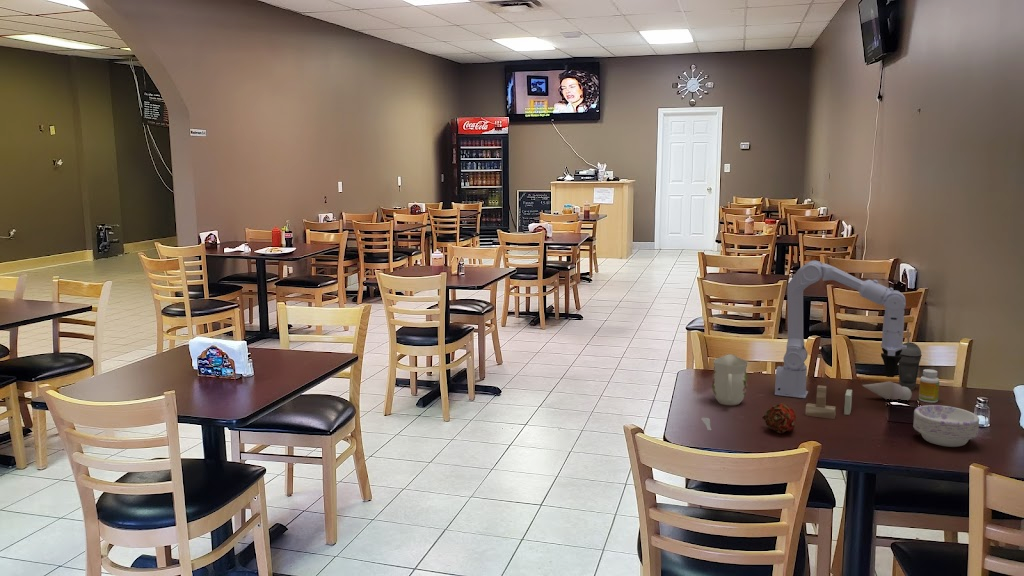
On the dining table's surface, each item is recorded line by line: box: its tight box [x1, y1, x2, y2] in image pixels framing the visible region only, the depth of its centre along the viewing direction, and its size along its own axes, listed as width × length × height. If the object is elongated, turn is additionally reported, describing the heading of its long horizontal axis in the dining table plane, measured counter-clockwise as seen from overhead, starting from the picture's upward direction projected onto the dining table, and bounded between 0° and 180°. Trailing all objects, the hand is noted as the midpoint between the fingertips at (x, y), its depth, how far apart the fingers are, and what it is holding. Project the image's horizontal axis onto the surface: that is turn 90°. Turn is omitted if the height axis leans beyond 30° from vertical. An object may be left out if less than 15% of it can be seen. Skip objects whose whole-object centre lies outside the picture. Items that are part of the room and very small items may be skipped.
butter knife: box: [700, 417, 713, 431], centre depth 216 cm, size 1×24×3 cm
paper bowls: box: [912, 404, 980, 448], centre depth 206 cm, size 15×15×8 cm
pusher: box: [805, 384, 837, 420], centre depth 228 cm, size 3×8×9 cm, turn 63°
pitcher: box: [711, 353, 749, 406], centre depth 241 cm, size 11×18×14 cm, turn 164°
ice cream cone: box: [861, 381, 913, 401], centre depth 243 cm, size 6×6×15 cm
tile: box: [843, 389, 853, 416], centre depth 232 cm, size 2×7×6 cm, turn 153°
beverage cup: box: [898, 328, 922, 391], centre depth 255 cm, size 7×7×20 cm
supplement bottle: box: [918, 368, 940, 404], centre depth 242 cm, size 5×5×10 cm
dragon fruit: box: [761, 402, 797, 434], centre depth 215 cm, size 8×8×12 cm
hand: (890, 373), depth 237 cm, fingers open, 7 cm apart
